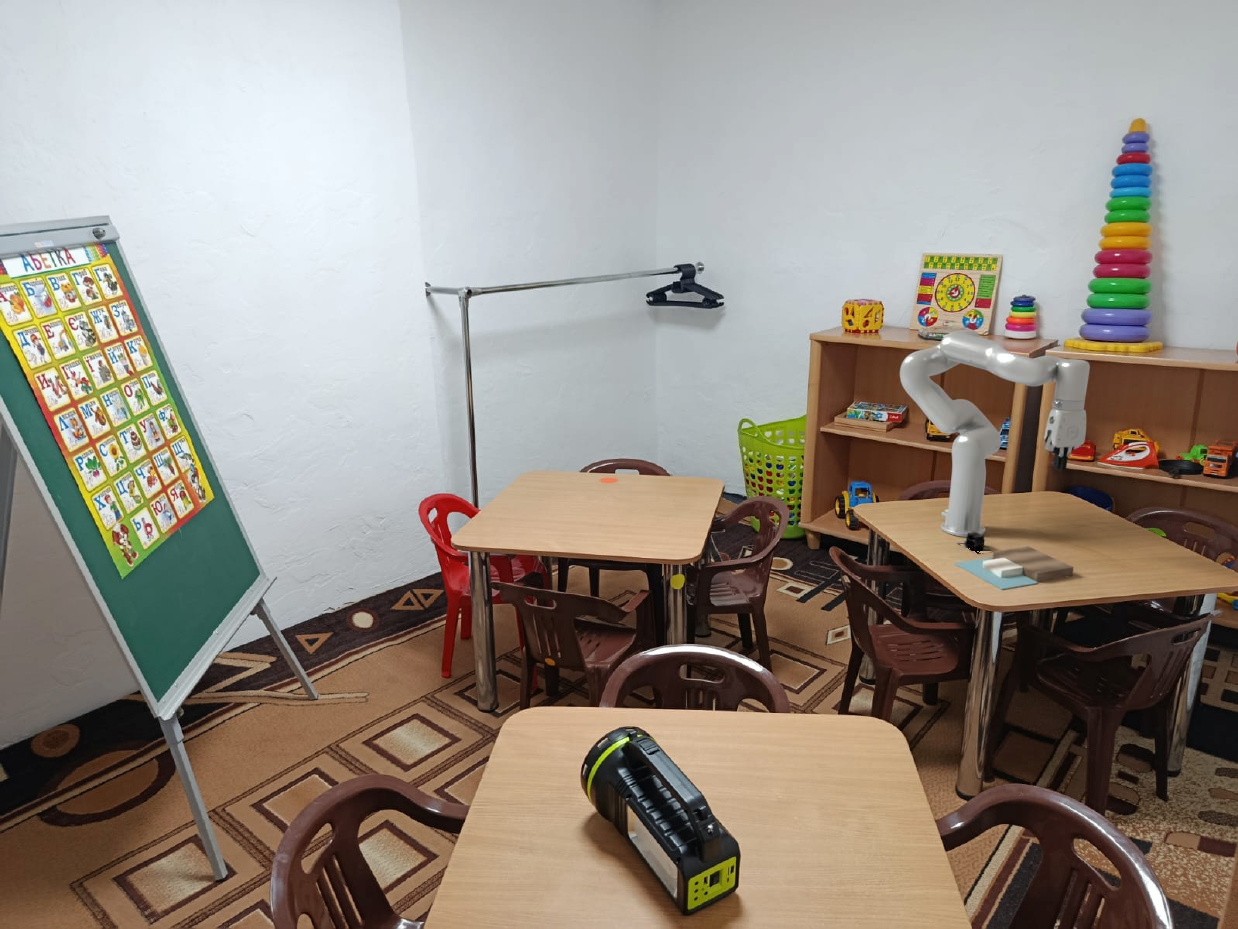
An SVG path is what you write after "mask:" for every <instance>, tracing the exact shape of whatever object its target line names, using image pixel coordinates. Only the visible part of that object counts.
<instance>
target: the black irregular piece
mask: <svg viewBox="0 0 1238 929" xmlns="http://www.w3.org/2000/svg"><path fill="white" fill-rule="evenodd" d="M964 542H965V543H959V542H957V543H958V544H957V545H959V544H963V546H964V547H965V549H966V548H968V549H969V548H970V549H969V551H970V552H972V551H975V552H976V553H977V555H982V554H984V553H982V554H981V553H979V552H980V551H990V549H989V548H987V549H986V547H985V536H984V534H983V535H981V534H979V533H977V532H973V533H968V535H967V537H965V541H964ZM964 547H963V548H964ZM984 547H985V548H984ZM968 549H967V550H968ZM988 549H989V550H988ZM977 551H979V552H977ZM976 553H975V554H976Z"/></svg>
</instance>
